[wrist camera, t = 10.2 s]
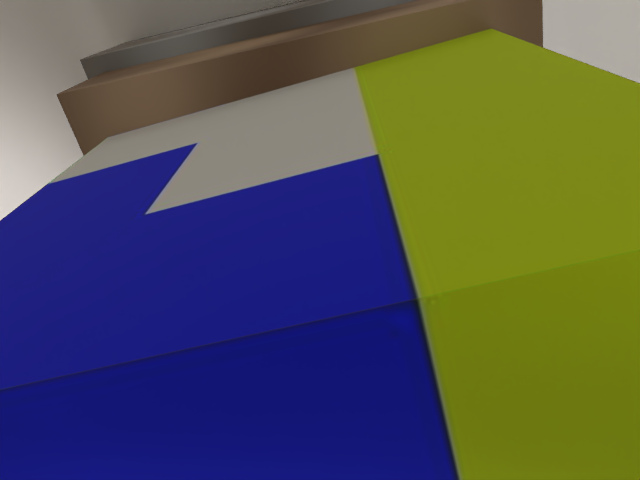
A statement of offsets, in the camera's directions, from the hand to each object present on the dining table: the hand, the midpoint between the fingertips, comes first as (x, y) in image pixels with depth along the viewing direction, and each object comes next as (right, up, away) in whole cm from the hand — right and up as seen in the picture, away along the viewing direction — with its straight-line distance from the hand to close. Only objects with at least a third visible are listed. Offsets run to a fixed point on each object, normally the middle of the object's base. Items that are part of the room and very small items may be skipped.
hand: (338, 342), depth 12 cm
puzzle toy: (0, +2, +4) cm, 4 cm away
